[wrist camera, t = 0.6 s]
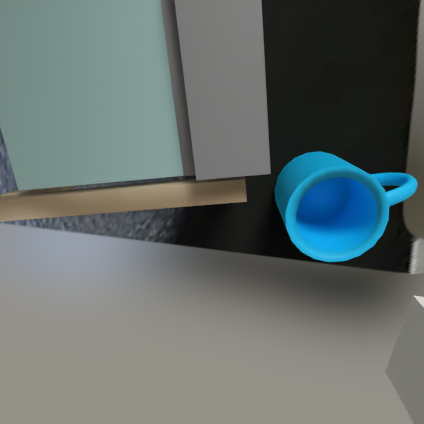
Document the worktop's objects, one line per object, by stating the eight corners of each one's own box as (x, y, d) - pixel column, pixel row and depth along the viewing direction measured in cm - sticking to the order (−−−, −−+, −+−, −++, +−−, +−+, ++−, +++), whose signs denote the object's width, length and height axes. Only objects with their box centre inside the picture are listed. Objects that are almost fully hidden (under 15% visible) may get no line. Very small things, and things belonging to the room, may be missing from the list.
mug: (283, 235, 36) (296, 271, 29) (266, 163, 34) (275, 181, 26) (398, 208, 35) (445, 239, 27) (388, 131, 32) (436, 139, 25)
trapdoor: (-8, 3, 22) (-66, -21, 18) (253, -37, 20) (257, -73, 16) (39, 182, 25) (0, 197, 21) (264, 161, 24) (270, 173, 20)
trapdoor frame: (37, 14, 31) (-97, -46, 19) (229, -14, 29) (223, -102, 17) (76, 181, 36) (-10, 222, 23) (243, 165, 34) (246, 201, 22)
